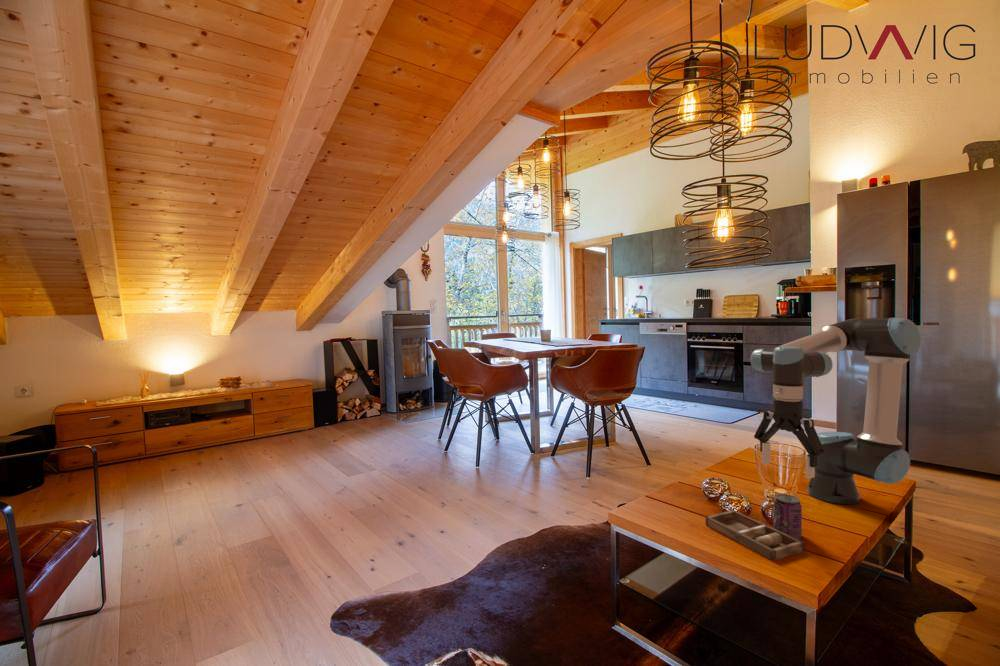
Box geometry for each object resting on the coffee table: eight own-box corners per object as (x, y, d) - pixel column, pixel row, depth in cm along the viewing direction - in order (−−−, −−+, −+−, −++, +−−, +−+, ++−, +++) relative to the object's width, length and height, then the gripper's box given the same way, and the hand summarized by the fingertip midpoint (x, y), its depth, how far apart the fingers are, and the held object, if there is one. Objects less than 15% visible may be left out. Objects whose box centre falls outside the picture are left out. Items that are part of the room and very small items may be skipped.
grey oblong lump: (772, 540, 133) (772, 530, 133) (782, 545, 130) (782, 535, 130) (755, 546, 130) (755, 535, 130) (764, 550, 127) (764, 540, 127)
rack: (733, 520, 148) (733, 510, 148) (803, 554, 127) (804, 542, 127) (705, 527, 144) (705, 516, 144) (773, 564, 122) (773, 551, 122)
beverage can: (775, 529, 142) (775, 491, 141) (802, 536, 137) (803, 497, 137) (771, 538, 136) (771, 499, 136) (799, 546, 132) (800, 505, 131)
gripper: (741, 393, 145) (741, 459, 146) (822, 408, 122) (821, 486, 123) (758, 391, 148) (758, 456, 149) (840, 405, 125) (839, 482, 125)
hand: (787, 470), depth 136 cm, fingers open, 13 cm apart
